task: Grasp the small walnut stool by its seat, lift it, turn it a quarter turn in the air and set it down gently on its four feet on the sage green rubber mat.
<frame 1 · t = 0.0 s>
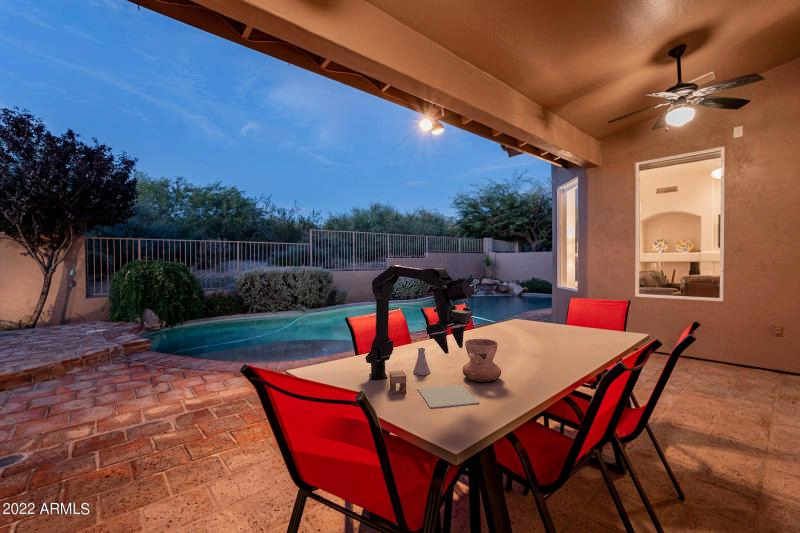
hand: (454, 350, 111), 15 cm above the table, tool pointing down, fingers open, 9 cm apart
flask: (421, 373, 137), on the table
sage mat: (446, 396, 112), on the table
ceramic jug: (482, 378, 130), on the table
walnut stool: (397, 390, 118), on the table
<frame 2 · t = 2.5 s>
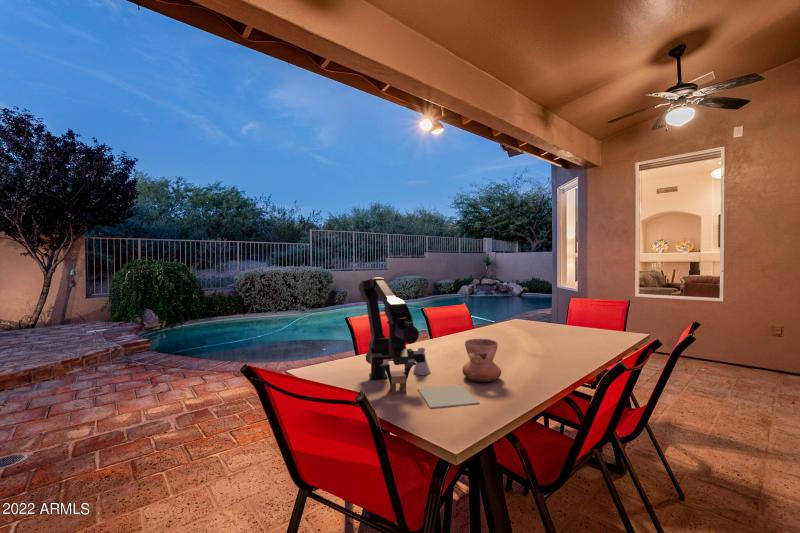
hand: (397, 382, 118), 3 cm above the table, tool pointing down, fingers closed on walnut stool, 5 cm apart
walnut stool: (397, 390, 118), on the table, touching gripper
everything else where it was.
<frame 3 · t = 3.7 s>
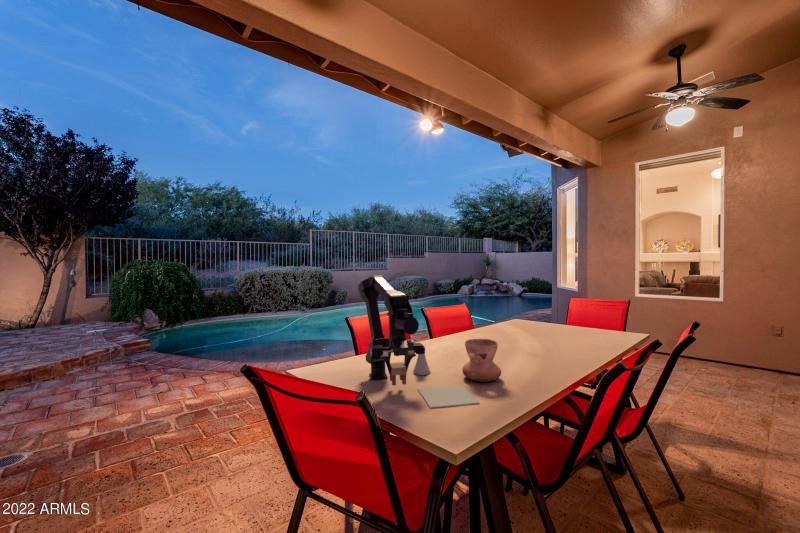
hand: (397, 374, 118), 6 cm above the table, tool pointing down, fingers closed on walnut stool, 5 cm apart
walnut stool: (397, 382, 118), point 3 cm above the table, touching gripper
everything else where it was.
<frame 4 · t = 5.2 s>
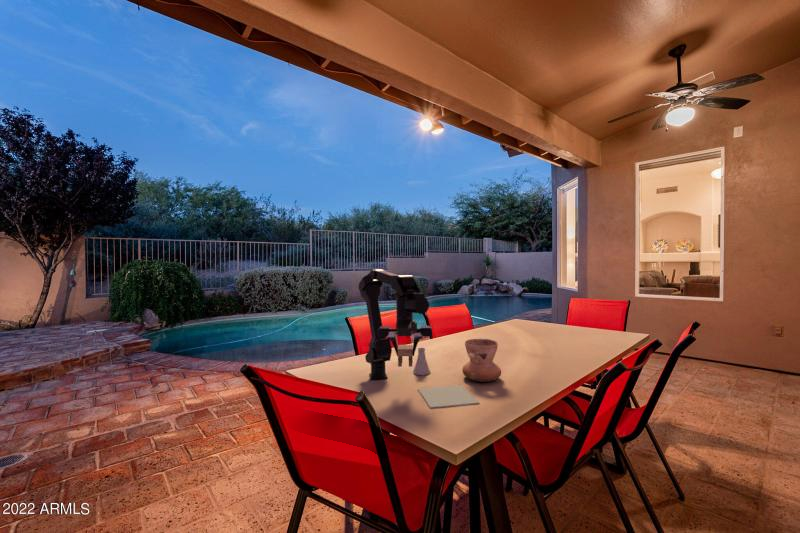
hand: (405, 356, 117), 12 cm above the table, tool pointing down, fingers closed on walnut stool, 5 cm apart
walnut stool: (405, 364, 117), point 10 cm above the table, touching gripper
everything else where it was.
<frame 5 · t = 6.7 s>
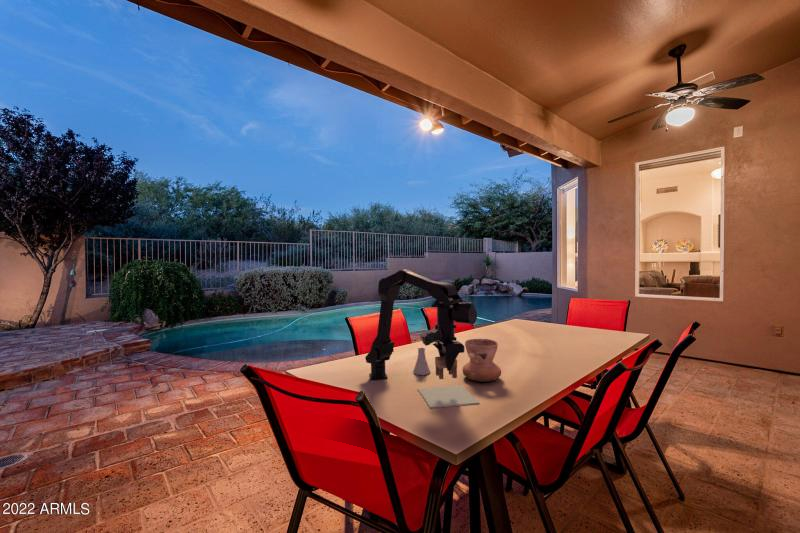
hand: (446, 367, 112), 9 cm above the table, tool pointing down, fingers closed on walnut stool, 5 cm apart
walnut stool: (446, 376, 112), point 7 cm above the table, touching gripper
everything else where it was.
when the fingers open (5 cm above the table, at t = 7.8 s): walnut stool drops 1 cm, resting on sage mat.
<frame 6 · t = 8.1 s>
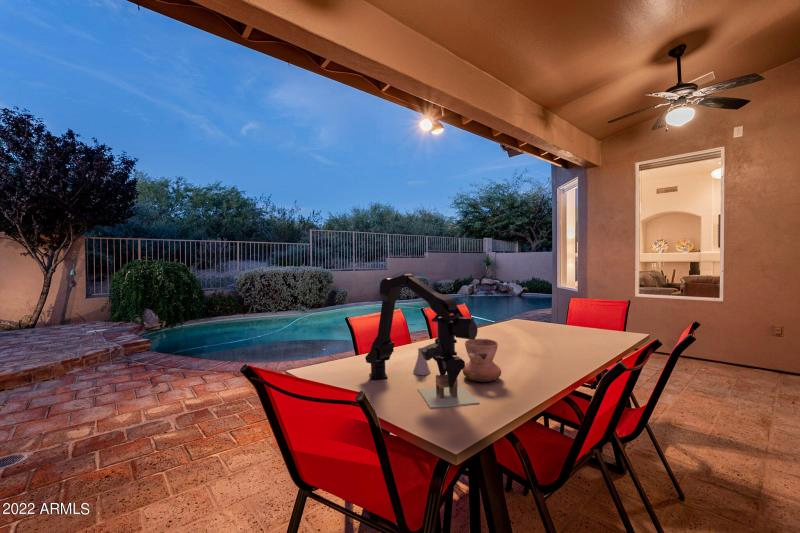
hand: (446, 382, 112), 5 cm above the table, tool pointing down, fingers open, 8 cm apart
walnut stool: (446, 395, 112), resting on sage mat
everything else where it was.
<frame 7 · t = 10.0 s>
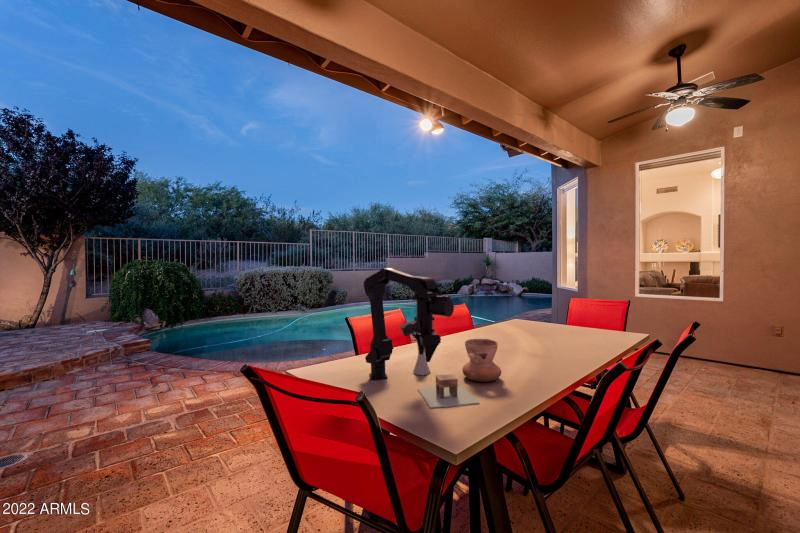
hand: (424, 358, 118), 11 cm above the table, tool pointing down, fingers open, 9 cm apart
nothing on the table moved.
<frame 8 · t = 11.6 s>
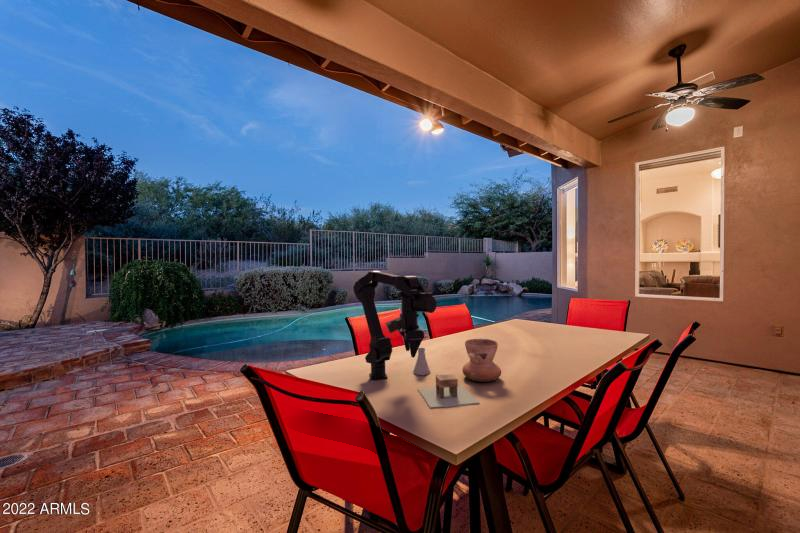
hand: (410, 353, 121), 12 cm above the table, tool pointing down, fingers open, 9 cm apart
nothing on the table moved.
at the end: walnut stool inside the target area on the sage mat (0.1 cm from its centre), point 0.4 cm above the sage mat's base; walnut stool tilted 0°; the gripper is holding nothing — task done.
